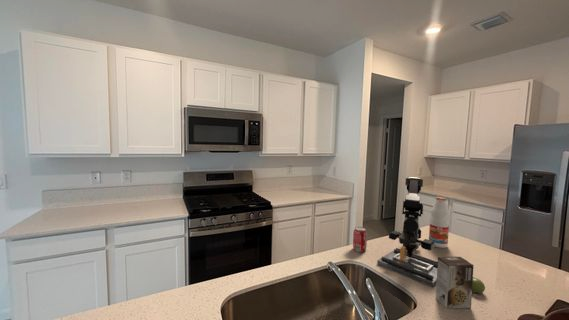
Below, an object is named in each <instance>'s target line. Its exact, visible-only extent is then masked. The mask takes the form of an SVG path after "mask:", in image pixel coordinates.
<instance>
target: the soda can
mask: <svg viewBox="0 0 569 320" xmlns="http://www.w3.org/2000/svg"><path fill="white" fill-rule="evenodd" d="M352 233H353V237H352V247H353V250H354V251H356V252H357V253H364V252H366V250H367V243H368V241H367V240H368V231H367V228H365V227H362V226H356V227H354V230H353V232H352Z"/></svg>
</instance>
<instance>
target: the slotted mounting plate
mask: <svg viewBox="0 0 569 320" xmlns="http://www.w3.org/2000/svg"><path fill="white" fill-rule="evenodd" d="M393 250H394V252H396V253H400V248H397V247H396V248H394V249H393ZM406 256H408V257H409V255H408V253H407V255H406ZM380 258H381V259H382V260H384V261H387V262H389V263H392V264H394V265H397V266H400V267H402V268H405V269H407V270H410V271H412V272H415V273H417V274H420V275H422V276H425V277H427V278H430V279H432V280H433V276H432V275H429V274H426V273H424V272H421V271H419V270H416V269H413V268H411V267H408V266H406V265H403V264H400V263H398V262H395V261H393V260H390V259H387V258H385V257H383V256H381V257H380ZM411 258H414V259H417V260H419V261H422V262H425V263H428V264H430V265H433V266H436V267H437V266H438V261H436V260H433V259H430V258H427V257H424V256H421V255H418V254H415V253H413V254H412V256H411Z"/></svg>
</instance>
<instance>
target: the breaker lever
mask: <svg viewBox="0 0 569 320" xmlns="http://www.w3.org/2000/svg"><path fill="white" fill-rule="evenodd" d="M399 249H400V256H398V258H400V259H403V260H406V261H409V258H407V257H406V255H407V250H406V247H404V246H403V245H402V246H401V247H400V248H399Z"/></svg>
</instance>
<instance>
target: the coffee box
mask: <svg viewBox="0 0 569 320" xmlns="http://www.w3.org/2000/svg"><path fill="white" fill-rule="evenodd" d="M437 262H438V266H437V283H436V285H435V286H436V287H435V299H437V300H438V302H440V303H441V305H442V306H444V307H445V308H446V309H471V308H472V297H473V291H472V283H473V277H474V264H472V263H471V262H470V261H468V260H467V259H465V258H463V257H462V256H438V257H437Z"/></svg>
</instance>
